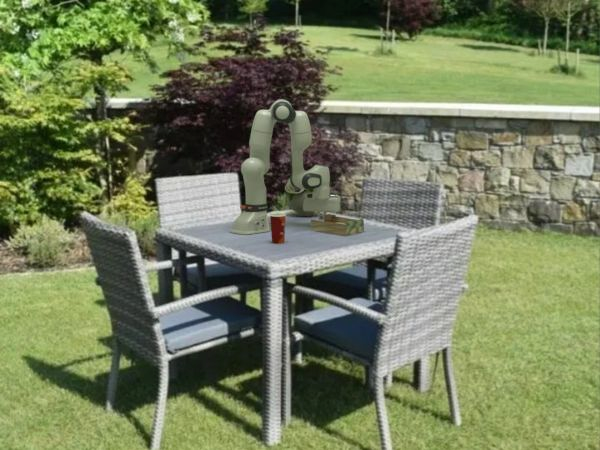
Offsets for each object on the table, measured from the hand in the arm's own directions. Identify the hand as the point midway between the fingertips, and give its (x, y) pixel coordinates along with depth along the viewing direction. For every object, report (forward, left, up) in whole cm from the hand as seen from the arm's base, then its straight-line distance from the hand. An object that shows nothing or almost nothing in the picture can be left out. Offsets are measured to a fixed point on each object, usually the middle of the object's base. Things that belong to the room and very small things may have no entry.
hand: (321, 219), depth 412 cm
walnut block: (0, -6, -1) cm, 6 cm away
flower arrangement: (+23, +31, -4) cm, 38 cm away
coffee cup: (-44, -8, -4) cm, 45 cm away
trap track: (-3, -13, -4) cm, 14 cm away
